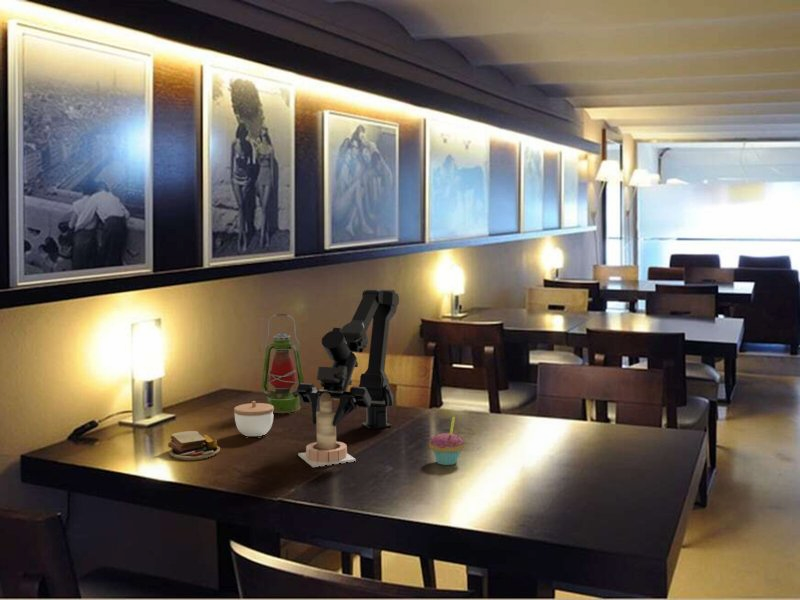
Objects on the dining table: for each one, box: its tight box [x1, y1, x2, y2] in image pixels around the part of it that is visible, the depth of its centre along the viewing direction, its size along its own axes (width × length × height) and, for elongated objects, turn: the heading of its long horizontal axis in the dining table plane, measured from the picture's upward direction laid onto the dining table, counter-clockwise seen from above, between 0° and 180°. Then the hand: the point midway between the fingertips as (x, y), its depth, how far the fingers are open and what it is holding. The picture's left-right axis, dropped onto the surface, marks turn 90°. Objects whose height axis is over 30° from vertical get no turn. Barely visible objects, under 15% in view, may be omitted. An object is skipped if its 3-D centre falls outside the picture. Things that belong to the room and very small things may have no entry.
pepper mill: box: [315, 392, 337, 450], centre depth 206 cm, size 5×5×16 cm
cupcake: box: [428, 414, 466, 466], centre depth 203 cm, size 9×8×12 cm
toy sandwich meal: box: [167, 430, 221, 461], centre depth 213 cm, size 12×14×5 cm
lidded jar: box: [233, 400, 274, 436], centre depth 230 cm, size 11×11×9 cm
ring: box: [297, 440, 357, 468], centre depth 207 cm, size 11×11×3 cm
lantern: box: [261, 313, 305, 412], centre depth 258 cm, size 14×11×30 cm
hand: (323, 424), depth 205 cm, fingers open, 5 cm apart
